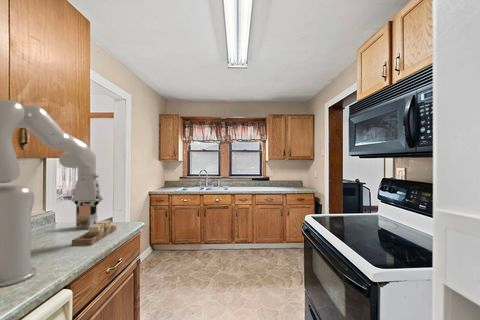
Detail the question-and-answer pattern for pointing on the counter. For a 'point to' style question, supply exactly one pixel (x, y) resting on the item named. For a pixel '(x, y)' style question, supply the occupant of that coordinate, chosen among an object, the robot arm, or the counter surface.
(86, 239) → the walnut tray
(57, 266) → the counter surface
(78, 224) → the coffee box
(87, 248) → the counter surface
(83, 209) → the brick cube
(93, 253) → the counter surface
